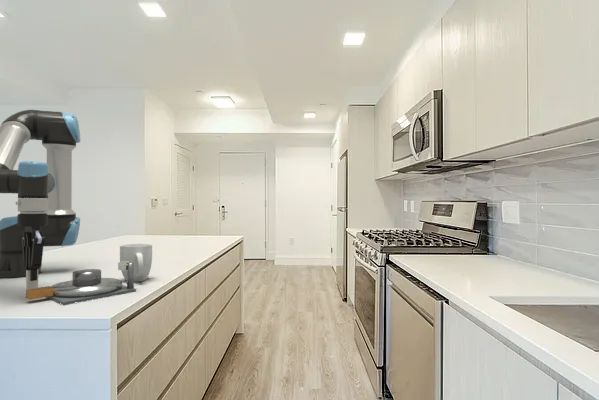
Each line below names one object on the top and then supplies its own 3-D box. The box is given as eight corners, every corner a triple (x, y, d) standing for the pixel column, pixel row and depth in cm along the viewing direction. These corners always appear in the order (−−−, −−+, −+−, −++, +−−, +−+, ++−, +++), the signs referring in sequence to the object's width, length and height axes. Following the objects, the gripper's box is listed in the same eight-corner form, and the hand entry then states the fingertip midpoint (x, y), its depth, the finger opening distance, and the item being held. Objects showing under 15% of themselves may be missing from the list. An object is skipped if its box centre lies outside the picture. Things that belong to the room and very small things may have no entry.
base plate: (37, 293, 117) (37, 290, 117) (105, 282, 134) (105, 280, 134) (63, 305, 104) (63, 302, 104) (135, 291, 121) (135, 288, 121)
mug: (157, 283, 133) (157, 246, 133) (123, 286, 127) (124, 248, 127) (148, 276, 146) (148, 242, 146) (117, 279, 140) (117, 244, 140)
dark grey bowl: (68, 284, 119) (68, 271, 119) (94, 280, 125) (94, 268, 125) (79, 287, 114) (79, 274, 114) (105, 283, 121) (105, 270, 121)
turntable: (16, 293, 113) (16, 285, 113) (105, 279, 133) (105, 272, 133) (39, 305, 100) (40, 296, 100) (133, 288, 121) (133, 280, 121)
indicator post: (113, 290, 121) (114, 261, 121) (127, 288, 125) (128, 260, 125) (120, 293, 119) (121, 263, 119) (135, 290, 122) (135, 261, 122)
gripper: (11, 212, 114) (10, 290, 114) (25, 213, 106) (24, 296, 106) (39, 212, 120) (39, 285, 120) (55, 213, 112) (54, 292, 112)
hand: (32, 290), depth 113 cm, fingers closed
